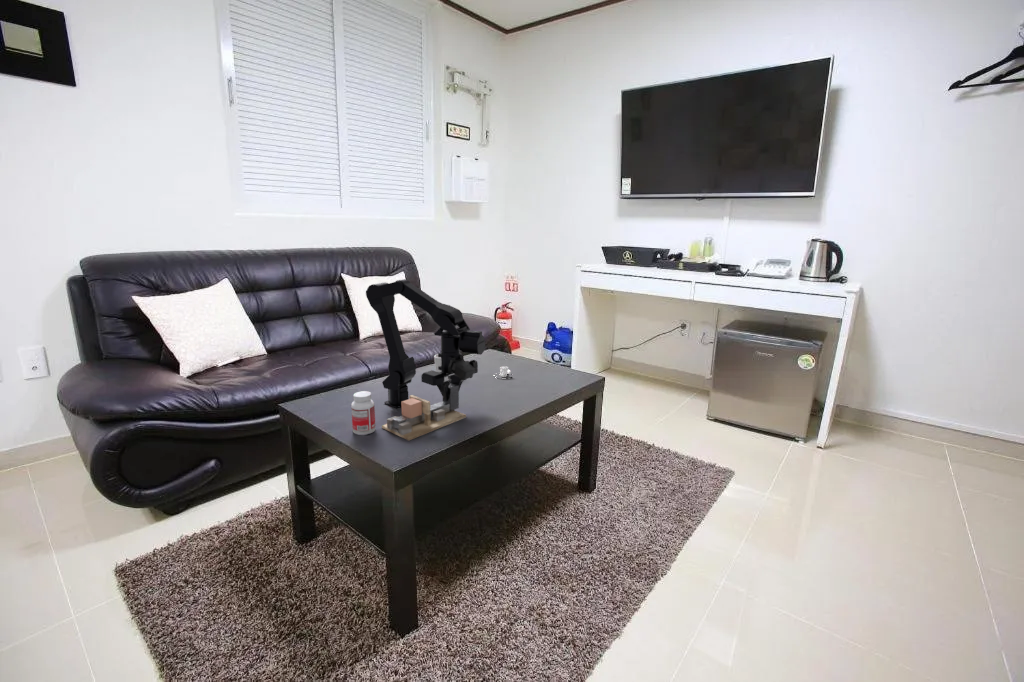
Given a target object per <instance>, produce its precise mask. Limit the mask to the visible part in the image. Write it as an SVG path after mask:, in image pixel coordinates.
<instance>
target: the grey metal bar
mask: <svg viewBox="0 0 1024 682" xmlns="http://www.w3.org/2000/svg"><path fill="white" fill-rule="evenodd" d="M459 395H460V390H459V385H456V384H453V383H450V385H449V387H448V401H445V400H444V398H443V397H442V401H438V402H437V403H434V404H430V418H433V411H436V410H438V409H443V410H445V413H446V412H449V411H452V410H455V411H456V410H457V409H459V408H460V405H459V404H460V403H459V402H460V400H459V399H460V396H459ZM406 421H408V422H411V426H412V425H415V424H417V423H420V422H423V421H425V414H424V413H422V415H419V416H416V417H414V418H411V419H410V418H408V417H406V416H403V415H402V414H401V415H400V416H397V417H396V418H394V419H393V427H394V428H396V429H398V430H399V424H400V423H403V422H406Z"/></svg>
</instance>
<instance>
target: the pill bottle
mask: <svg viewBox="0 0 1024 682" xmlns="http://www.w3.org/2000/svg"><path fill="white" fill-rule="evenodd" d="M350 406H351V407H350V409H351V424H352V426H351V427H352V432H353V433H354V434H355V435H358V436H365V435H371V434H373V433H374V432H375V431H376V412H375V411H376V409H375V402H374V400H373V399H372V392H370V391H368V390H362V391H357V392H354V394H353V401H352V402H351V405H350Z"/></svg>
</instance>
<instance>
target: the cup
mask: <svg viewBox="0 0 1024 682" xmlns="http://www.w3.org/2000/svg"><path fill="white" fill-rule="evenodd" d="M433 358H434V359H433V361H434V367H435V371H436V372H441V370H438V366H441V357H438V353H436V354H435V355H434V356H433Z"/></svg>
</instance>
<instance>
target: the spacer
mask: <svg viewBox="0 0 1024 682" xmlns="http://www.w3.org/2000/svg"><path fill="white" fill-rule="evenodd" d="M400 408H401V416H402V415H403V416H406V417H408V418H410V419H411V418H414V417H416V416H419V415H422V401H419V400H417V399H414V398H411V399H410V398H409V399H408V400H405V401H402V402H401V407H400Z"/></svg>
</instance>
